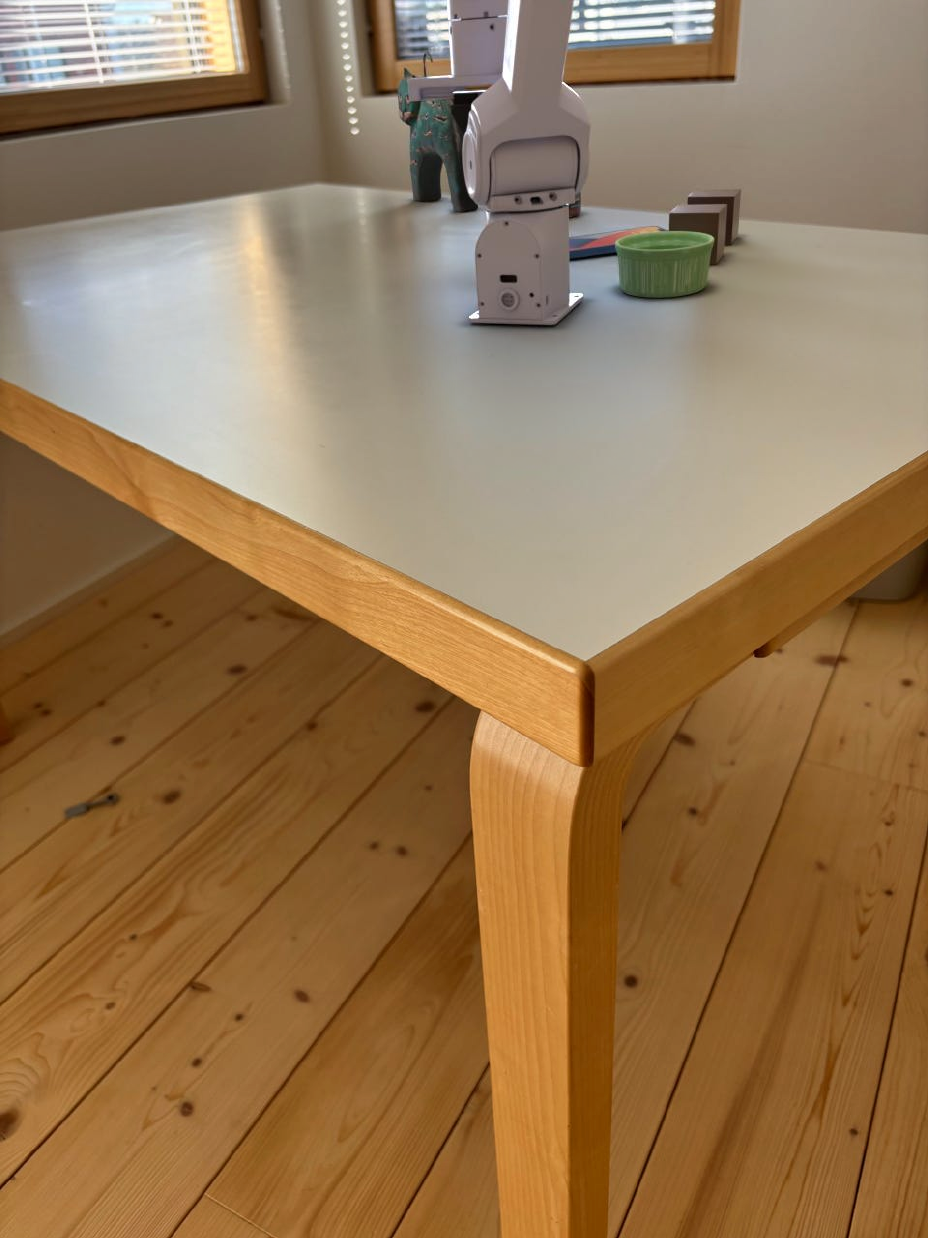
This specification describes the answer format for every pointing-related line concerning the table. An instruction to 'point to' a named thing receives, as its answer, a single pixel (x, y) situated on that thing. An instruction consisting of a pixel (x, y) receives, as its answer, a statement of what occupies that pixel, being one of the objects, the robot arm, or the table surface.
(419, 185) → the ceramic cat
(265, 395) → the table surface
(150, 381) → the table surface
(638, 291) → the ramekin
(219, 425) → the table surface
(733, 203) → the walnut block far
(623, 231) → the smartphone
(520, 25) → the robot arm
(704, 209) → the walnut block near
